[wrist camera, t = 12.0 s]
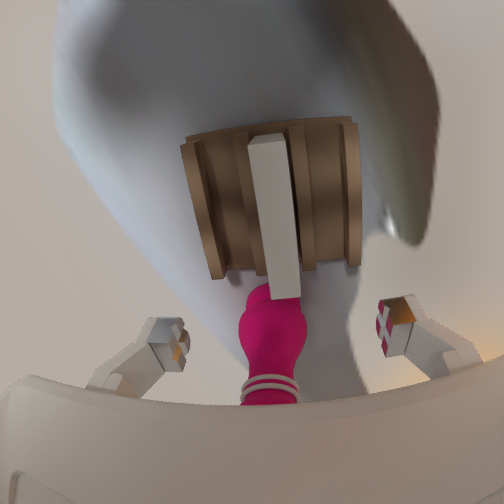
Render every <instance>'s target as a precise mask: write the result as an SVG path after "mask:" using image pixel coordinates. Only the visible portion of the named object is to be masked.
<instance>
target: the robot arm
mask: <svg viewBox="0 0 504 504" xmlns="http://www.w3.org/2000/svg"><path fill="white" fill-rule="evenodd" d="M378 309H379V311H380V313H379V314H378V315H377V320H376V329H377V334H378V337H379V338H380V339H381V340H383V341H382V345H381V346H382V349H383V352H384V354H385V357H392V356H398V355H403V354H404V356H406V357H407V358H408V359H409V360H410V361H411V362H412V363H414V364H415V365H416V366H417V367H418V368H419V369H420V370H421V371H423V372H424V373H425V374H426V375H427V376H428V377H429V378H430V379H431V380H430V381H426V382H422V383H418V384H415V385H411V386H406V387H402V388H398V389H393V390H388V391H383V392H378V393H373V394H367V395H362V396H355V397H349V398H342V399H335V400H326V401H317V402H307V403H295V404H279V405H239V406H236V405H233V406H232V405H201V404H185V403H173V402H163V401H153V400H146V399H140V398H141V397H142V396H143V395H144V394H145V393H146V392H147V391H148V390H149V389H150V388H151V387H152V386H153V384H155V383H156V381H157V380H158V379H159V378H160V377H161V376H162V375H163V374H164V373H165V372H183V369H184V366H185V363H186V359H185V357H184V356H185V355H186V354H187V353H189V350H190V337H189V334H188V332H187V331H186V330H185V329H183V327H184V322H183V320H182V318H180V317H150V318H148V319H147V320H146V322H145V324H144V326H143V328H142V330H141V332H140V334H139V336H138V338H137V340H136V342H135V343H131V344H130V345H128V346H127V347H126V348H124V349H123V350H121V351H120V352H119V353H117V354H116V355H115V356H113V357H112V358H110V359H109V360H108V361H106V362H105V363H103V364H102V365H101V366H99V367H98V368H97V369H95V371H94V373H93V374H92V376H91V378H90V380H89V382H88V384H87V386H86V388H85V389H83V388H79V387H75V386H71V385H67V384H63V383H59V382H56V381H52V380H48V379H45V378H42V377H39V376H36V375H27V376H25V377H23V378H22V379H20V380H18V381H17V382H15V383H14V384H12V385H10V386H9V387H8V388H7V389H5V390H4V391H3V392H2V394H1V395H0V504H504V355H502V356H500V357H497V358H495V359H492V360H490V361H487V362H485V363H483V361H482V359H481V357H480V355H479V353H478V351H477V350H476V348H475V346H474V344H473V343H472V342H470V341H469V340H467V339H465V338H464V337H462V336H460V335H459V334H457V333H455V332H454V331H452V330H450V329H448V328H447V327H445V326H443V325H441V324H440V323H438V322H436V321H435V320H433V319H428V317H427V316H426V314H425V312H424V310H423V308H422V307H421V305H420V303H419V302H418V300H417V298H416V297H415V295H414V294H411V295H406V296H402V297H395V298H389V299H382V300H380V302H379V305H378Z"/></svg>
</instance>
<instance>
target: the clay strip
mask: <svg viewBox="0 0 504 504" xmlns="http://www.w3.org/2000/svg"><path fill="white" fill-rule="evenodd" d="M247 146H248V152H249V158H250V165H251V171H252V177H253V183H254V189H255V196H256V202H257V208H258V215H259V221H260V228H261V234H262V241H263V247H264V254H265V260H266V267H267V274H268V280H269V287H270V294H271V300H274V299H285V298H296V297H301V285H300V273H299V260H298V249H297V238H296V228H295V218H294V208H293V199H292V190H291V182H290V173H289V165H288V157H287V150H286V142H285V139H284V136H283V134H282V133H275V134H267V135H260V136H254V138H253V139H252V140H251V141H250V143H249V144H248V145H247Z"/></svg>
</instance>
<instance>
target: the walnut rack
mask: <svg viewBox="0 0 504 504" xmlns="http://www.w3.org/2000/svg"><path fill="white" fill-rule="evenodd" d="M275 133H282V134H283V136H284V139H285V142H286V150H287V157H288V165H289V173H290V182H291V190H292V199H293V208H294V218H295V228H296V238H297V249H298V260H299V263H302V266H303V272H304V271H313V270H316V261H322V260H331V259H340V258H346V261H347V263H348V266H349V267H350V266H359V265H361V249H362V188H361V164H360V148H359V135H358V124H357V123H352V120H351V117H350V116H342V117H323V118H309V119H297V120H287V121H278V122H269V123H262V124H254V125H248V126H241V127H235V128H229V129H223V130H218V131H212V132H207V133H202V134H197V135H193V136H188V137H186V144H183V145H181V146H180V148H181V153H182V158H183V163H184V167H185V172H186V176H187V181H188V185H189V190H190V194H191V198H192V203H193V207H194V211H195V215H196V219H197V223H198V227H199V232H200V236H201V240H202V243H203V247H204V251H205V255H206V259H207V263H208V267H209V270H210V274H211V278H212V280H217V279H224V277H225V273H226V270H230V269H241V268H252V267H255V269H256V275H257V276H262V275H268V274H267V267H266V260H265V254H264V247H263V241H262V234H261V228H260V221H259V215H258V208H257V202H256V196H255V189H254V183H253V177H252V171H251V165H250V158H249V152H248V146H247V145H248V144H249V143H250V141H251V140H252V139H253V138H254V136H260V135H267V134H275Z"/></svg>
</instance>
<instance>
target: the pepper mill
mask: <svg viewBox="0 0 504 504" xmlns="http://www.w3.org/2000/svg"><path fill="white" fill-rule="evenodd" d="M306 336H307V323H306V320H305V317H304V315H303V313H302V312H301V308H300V300H299V297H296V298H285V299H274V300H271V294H270V287H269V283H268V284H264V285H261V286H259V287H257V288H256V289H254V290H253V291H252V292H251V293H250V295H249V297H248V299H247V304H246V311H245V312H244V313H243V314H242V316H241V318H240V321H239V338H240V342H241V346H242V348H243V350H244V352H245V354H246V356H247V358H248V361H249V378H248V380H247V381H246V382H245V383H244V384H243V386H242V394H241V398H240V399H241V404H240V405H279V404H295V403H300V395H299V393H300V388H299V385H298V384H297V383H296V382H295V381H294V379H293V369H294V365H295V362H296V360H297V358H298V356H299V354H300V352H301V350H302V349H303V346H304V343H305V339H306Z"/></svg>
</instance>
